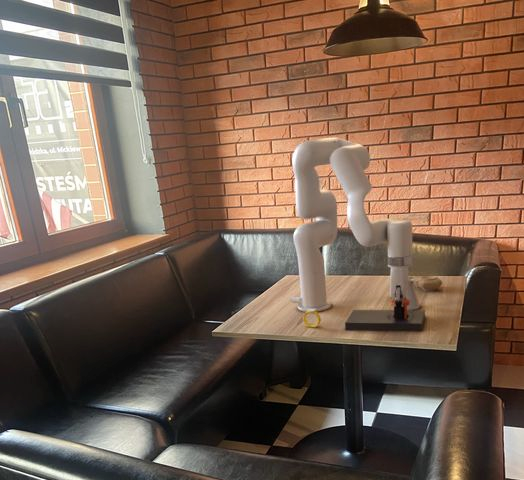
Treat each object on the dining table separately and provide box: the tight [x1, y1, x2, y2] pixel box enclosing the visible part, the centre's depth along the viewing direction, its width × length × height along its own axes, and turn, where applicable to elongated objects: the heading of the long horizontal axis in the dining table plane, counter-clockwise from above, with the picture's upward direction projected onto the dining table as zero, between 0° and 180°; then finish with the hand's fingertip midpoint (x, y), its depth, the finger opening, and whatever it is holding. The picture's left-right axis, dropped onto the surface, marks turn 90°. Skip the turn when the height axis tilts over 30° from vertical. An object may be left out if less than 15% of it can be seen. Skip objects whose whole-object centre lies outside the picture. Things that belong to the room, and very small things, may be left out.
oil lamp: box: [409, 275, 443, 292], centre depth 210 cm, size 11×14×5 cm
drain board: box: [344, 309, 426, 332], centre depth 177 cm, size 24×14×2 cm, turn 70°
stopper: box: [391, 298, 409, 319], centre depth 174 cm, size 6×6×6 cm
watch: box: [302, 309, 322, 328], centre depth 181 cm, size 6×3×6 cm, turn 57°
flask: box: [406, 279, 421, 310], centre depth 189 cm, size 7×7×10 cm
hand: (400, 315), depth 174 cm, fingers closed on stopper, 5 cm apart
